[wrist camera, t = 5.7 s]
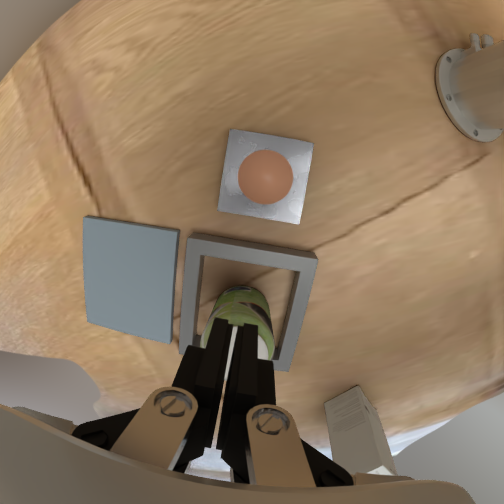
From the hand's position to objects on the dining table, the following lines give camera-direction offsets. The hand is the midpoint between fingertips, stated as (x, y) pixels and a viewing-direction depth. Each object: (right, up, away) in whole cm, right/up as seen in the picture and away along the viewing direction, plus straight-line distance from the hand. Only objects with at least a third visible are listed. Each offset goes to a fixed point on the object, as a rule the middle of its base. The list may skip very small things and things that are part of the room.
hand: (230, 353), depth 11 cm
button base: (+2, +12, +18) cm, 22 cm away
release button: (+2, +11, +16) cm, 19 cm away
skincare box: (+15, -19, +26) cm, 36 cm away
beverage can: (0, -2, +22) cm, 22 cm away
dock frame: (0, -2, +22) cm, 22 cm away
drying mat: (-14, +1, +22) cm, 26 cm away
